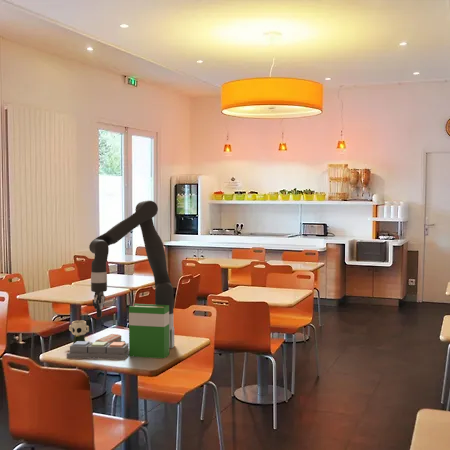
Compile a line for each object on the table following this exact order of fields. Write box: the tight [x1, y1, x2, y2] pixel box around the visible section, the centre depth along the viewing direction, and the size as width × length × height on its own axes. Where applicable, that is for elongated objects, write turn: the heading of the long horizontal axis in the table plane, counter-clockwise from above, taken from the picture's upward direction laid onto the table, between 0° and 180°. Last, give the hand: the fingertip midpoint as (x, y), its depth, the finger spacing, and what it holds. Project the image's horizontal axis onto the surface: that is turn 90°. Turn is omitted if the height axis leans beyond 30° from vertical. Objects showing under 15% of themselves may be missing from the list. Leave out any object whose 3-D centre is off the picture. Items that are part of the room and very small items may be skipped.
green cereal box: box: [128, 303, 170, 359], centre depth 282 cm, size 18×7×24 cm, turn 77°
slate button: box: [72, 340, 90, 346], centre depth 284 cm, size 6×6×2 cm
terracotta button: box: [110, 341, 126, 347], centre depth 282 cm, size 6×6×2 cm
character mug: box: [68, 320, 90, 344], centre depth 298 cm, size 11×7×13 cm, turn 75°
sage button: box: [91, 341, 107, 347], centre depth 283 cm, size 6×6×2 cm
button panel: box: [66, 341, 129, 360], centre depth 283 cm, size 28×12×5 cm, turn 85°
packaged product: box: [94, 333, 126, 344], centre depth 302 cm, size 18×5×10 cm
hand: (99, 317), depth 282 cm, fingers closed
